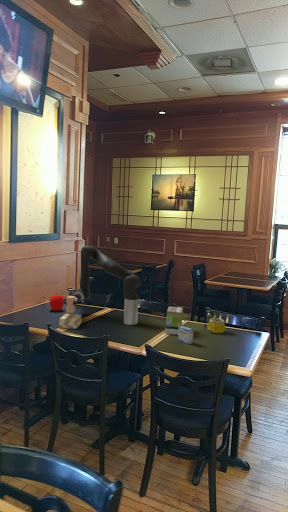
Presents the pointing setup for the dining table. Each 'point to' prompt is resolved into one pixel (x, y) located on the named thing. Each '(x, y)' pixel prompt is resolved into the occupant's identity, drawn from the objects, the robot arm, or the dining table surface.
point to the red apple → (56, 302)
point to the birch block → (70, 321)
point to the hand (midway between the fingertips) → (69, 303)
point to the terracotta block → (70, 304)
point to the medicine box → (185, 335)
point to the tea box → (173, 320)
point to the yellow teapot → (216, 325)
